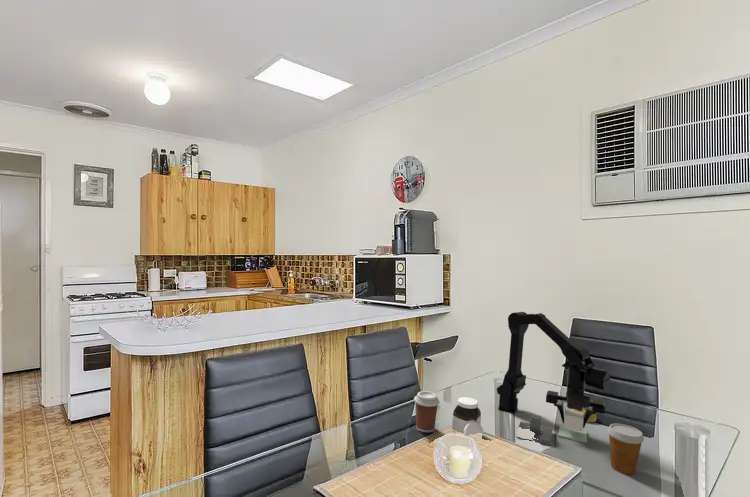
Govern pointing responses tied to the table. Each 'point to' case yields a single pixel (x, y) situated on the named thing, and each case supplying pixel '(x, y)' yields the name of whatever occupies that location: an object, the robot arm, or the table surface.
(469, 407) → the spread jar
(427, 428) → the coffee cup
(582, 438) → the pad
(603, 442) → the table surface
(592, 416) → the bread roll
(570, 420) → the beige block
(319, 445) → the table surface
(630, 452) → the disposable coffee cup
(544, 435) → the post stand
